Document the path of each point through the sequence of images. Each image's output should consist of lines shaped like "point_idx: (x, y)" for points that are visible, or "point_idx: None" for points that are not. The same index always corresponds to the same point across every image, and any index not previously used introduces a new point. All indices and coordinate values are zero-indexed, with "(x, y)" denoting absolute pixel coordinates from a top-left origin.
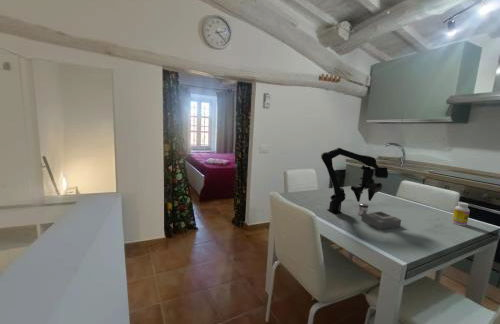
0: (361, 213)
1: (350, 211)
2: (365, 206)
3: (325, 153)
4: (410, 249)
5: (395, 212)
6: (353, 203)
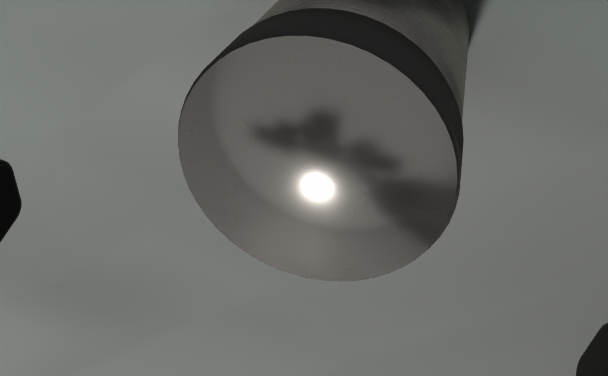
0: (462, 33)
1: None
2: (393, 54)
3: None
4: None
5: None
6: (86, 347)
